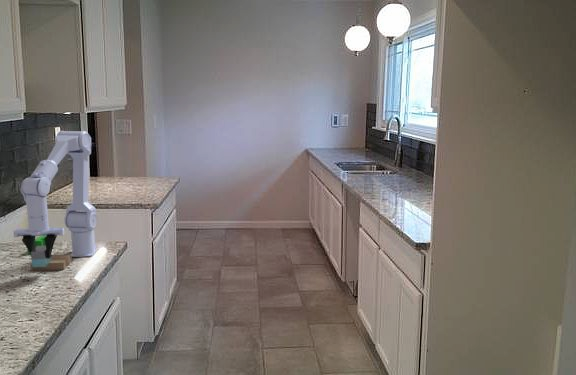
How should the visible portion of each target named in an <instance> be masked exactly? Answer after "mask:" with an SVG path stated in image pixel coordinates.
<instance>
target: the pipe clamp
mask: <svg viewBox="0 0 576 375" xmlns="http://www.w3.org/2000/svg"><path fill="white" fill-rule="evenodd" d="M45 237H47V235H45V236H39V237H37V238H36V237H35V248H36V247H37V246H46V244H45V240H44V238H45ZM26 250H27V255H28V256H29V255H30V253H29V251H28V249H27V248H26ZM30 256H31V255H30Z"/></svg>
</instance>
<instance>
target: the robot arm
mask: <svg viewBox="0 0 576 375" xmlns="http://www.w3.org/2000/svg"><path fill="white" fill-rule="evenodd" d="M54 143H55V145H54V146H53V148H52V150H51V151H50V153H49V155H48V156H47V159H43V160H40V161H39V163H38V165H37V166H36V168H35V169H34V171H33V172H32V173H31V175H30V176H29V177H26V178H25V179H23V180H22V181H21V183H20V193H21V194H22V197H23V201H24V202H25V203H26V214H27V224H28V225H27V226H28V228H21V229H20V228H18V229H14V230H13V238H18V237H22V238H21V241H22V243H23V245H24V246H26V250H27V249H28V251H29V253H30V256H31V251H32V250H33V249H34V248H35V239H36V237H38V236H39V237H41V236H45V235H47V237H45V238H44V240H45V244H46V251H47V259H48V258H51V256H52V255H53V254H52V253H53V247H54V245H55V241H56V240H57V237H58V236H64V235H65V234H66V232H65V228H64V227H50V224H49V211H48V201H47V195H48V194H49V193H50V192H51V191H50V190H51V186H52V180H53V179H54V178H55V176H56V174H57V173H58V171H59V167H58V165H59V164H60V163H61V161H62V160H63V159H64V158H65V156H66V155H70V157H71V158H72V202H71V203H70V204H69V205H68V206H67V207H66V208H65V210H66V212H65V216H64V218H63V219H64V220H63V221H64V225H65V227H66V229H67V228H68V231H69V232H70V235H71V236H70V237H71V249H72V250H71V253H70V254H71V258H76V257H77V258H78V257H81V258H85V257H93V256H94V255H95V254H96V252H97V250H99V247H96V237H95V231H94V229H95V228H96V226H97V224H98V215H97V209H96V207H95V206H94V205H92V204H91V203H90V202H89V197H90V196H89V193H90V192H89V191H90V190H89V187H90V185H89V184H90V182H89V180H90V179H89V178H90V172H89V171H90V155H91V154H92V137H91V135H90V134H89V133H88V132H87V131H85V130H81V131H79V130H77V131H73V130H72V131H71V130H70V131H69V130H66V131H65V130H60V131H58V132H57V134H56V136H55V137H54ZM28 251H27V252H28Z"/></svg>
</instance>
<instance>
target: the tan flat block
mask: <svg viewBox="0 0 576 375" xmlns="http://www.w3.org/2000/svg"><path fill="white" fill-rule="evenodd" d="M51 258H52V261H51V262H50V263H49V264H48V265H47V266H46V267H32V262H31V264H30V265H31V272H39V271H40V272H41V271H42V272H43V271H65V269H66V268H67V267H68V266H69V265H70V264H71V262H72V257H71V253H66V254H64V253H62V254H52V256H51Z"/></svg>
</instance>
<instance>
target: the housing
mask: <svg viewBox="0 0 576 375" xmlns="http://www.w3.org/2000/svg"><path fill="white" fill-rule="evenodd" d="M30 258H31V263H32V266H31V268H32V267H46V266H47V265H48V264H49V263H50V262H51V261H52V258H48V259H47V251H46V246H37V247H36V248H34V249H33V250H32V251H31V255H30Z"/></svg>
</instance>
